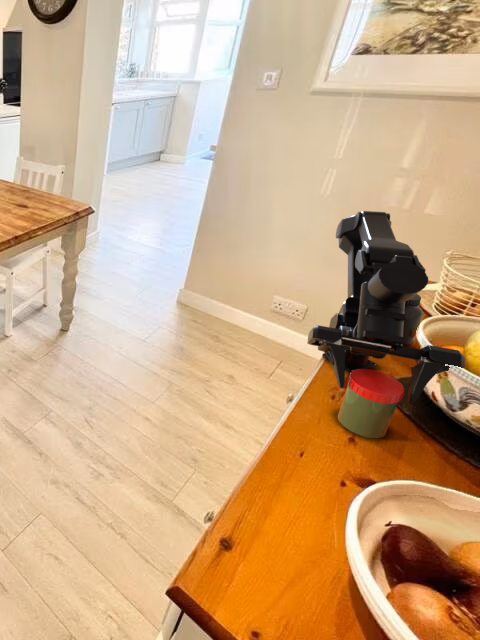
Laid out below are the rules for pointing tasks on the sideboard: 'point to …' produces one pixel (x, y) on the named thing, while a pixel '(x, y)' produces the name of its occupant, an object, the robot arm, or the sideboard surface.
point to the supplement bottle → (411, 319)
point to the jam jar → (365, 415)
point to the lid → (376, 386)
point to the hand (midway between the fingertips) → (374, 395)
